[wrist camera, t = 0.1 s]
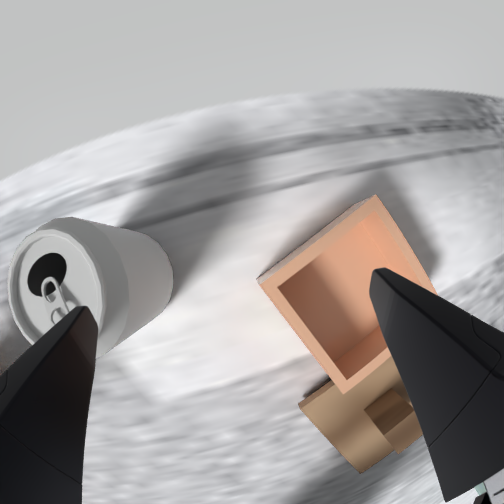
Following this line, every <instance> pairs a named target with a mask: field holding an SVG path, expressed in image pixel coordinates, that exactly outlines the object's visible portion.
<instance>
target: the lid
mask: <svg viewBox="0 0 504 504" xmlns="http://www.w3.org/2000/svg"><path fill="white" fill-rule="evenodd" d="M298 405H299V407H300V409H301V411H302V412H303V413H304V414H305V415H306V416H307V417H308V418H309V420H310V421H311V422H312V423H313V424H314V425H315V426H316V427H317V428H318V430H319V431H320V432H321V433H322V434H323V435H324V436H325V437H326V438H327V439H328V440H329V442H330V443H331V444H332V445H333V446H334V447H335V448H336V449H337V450H338V451H339V452H340V453H341V454H342V455H343V456H344V457H345V459H346V460H347V461H348V462H349V463H350V464H351V465H352V466H353V467H354V468H355V469H356V470H357V471H358V472H359V473H360V474H361V473H363V472H364V471H366V470H367V469H369V468H370V467H372V466H373V465H374V464H376V463H377V462H379V461H380V460H382V459H383V458H384V457H386V456H387V455H388V454H390V453H391V452H392V451H394V450H395V451H396V452H397V453H398V454H399V453H401V452H402V451H403V450H404V449H406V448H407V447H408V446H409V445H411V444H412V443H413V442H414V441H416V440H417V439H418V438H419V437H420V436H422V435H423V433H422V430H421V427H420V424H419V422H418V419H417V416H416V414H415V411H414V409H413V406H412V404H411V401H410V399H409V396H408V394H407V391H406V389H405V386H404V384H403V381H402V379H401V377H400V374H399V372H398V369H397V367H396V365H395V362H394V360H393V358H392V356H390V357H389V358H388V359H387V360H386V361H385V362H384V363H382V364H381V365H380V366H379V367H378V368H376V369H375V370H374V371H373V372H372V373H370V374H369V375H368V376H367V377H365V378H364V379H363V380H362V381H360V382H359V383H358V384H356V385H355V386H354V387H353V388H351V389H350V390H349V391H347V392H346V393H345V394H342V392H341V391H340V390H339V388H338V387H337V386H336V385H335V383H334V382H333V381H332V380H331V381H329V382H328V383H327V384H325V385H324V386H323V387H321V388H320V389H318V390H317V391H316V392H314V393H313V394H311V395H310V396H309V397H307V398H306V399H304V400H303V401H301V402H300V403H298Z"/></svg>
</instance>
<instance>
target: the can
mask: <svg viewBox="0 0 504 504" xmlns="http://www.w3.org/2000/svg"><path fill="white" fill-rule="evenodd" d="M7 288H8V299H9V305H10V308H11V311H12V314H13V317H14V320H15V322H16V324H17V326H18V327H19V329H20V331H21V333H22V334H23V336H24V337H25V338H26V339H27V340H28V341H29V342H30V343H31V344H32V345H33V344H34V343H35V342H36V341H37V340H39V339H40V338H41V337H42V336H43V335H44V334H45V333H46V332H47V331H48V330H50V329H51V328H52V327H53V326H54V325H55V324H56V323H57V322H59V321H60V320H61V319H62V318H63V317H64V316H65V315H66V314H68V313H69V312H70V311H71V310H72V309H73V308H75V307H76V306H84V305H85V306H88V307H89V309H90V311H91V313H92V315H93V316H94V318H95V320H96V322H97V324H98V340H97V351H96V359H97V358H100V357H102V356H103V355H104V354H106V353H107V352H109V351H110V350H111V349H113V348H114V347H116V346H117V345H118V344H120V343H121V342H122V341H124V340H125V339H127V338H128V337H129V336H131V335H132V334H134V333H135V332H136V331H138V330H139V329H141V328H142V327H143V326H145V325H146V324H148V323H149V322H150V321H152V320H153V319H154V318H156V317H157V316H158V315H159V314H161V313H162V312H163V310H164V308H165V307H166V305H167V304H168V302H169V300H170V297H171V293H172V289H173V269H172V266H171V264H170V261H169V258H168V255H167V254H166V253H165V251H164V250H163V248H162V247H161V246H160V244H159V243H158V242H156V241H155V240H153V239H152V238H151V237H149V236H148V235H146V234H143V233H139V232H136V231H132V230H128V229H123V228H119V227H114V226H110V225H105V224H101V223H97V222H92V221H88V220H83V219H79V218H74V217H67V218H57V219H53V220H51V221H50V222H48V223H46V224H44V225H42V226H41V227H39V228H38V229H37V230H36V231H35V232H33V233H31V234H30V235H28V236H26V238H25V239H24V240H23V241H22V243H21V244H20V245H19V246H18V247H17V249H16V251H15V253H14V256H13V258H12V261H11V263H10V266H9V273H8V281H7Z"/></svg>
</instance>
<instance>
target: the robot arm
mask: <svg viewBox="0 0 504 504" xmlns="http://www.w3.org/2000/svg"><path fill="white" fill-rule="evenodd" d="M369 296H370V299H371V302H372V305H373V308H374V311H375V314H376V317H377V320H378V323H379V326H380V329H381V332H382V335H383V337H384V340H385V342H386V344H387V347H388V349H389V351H390V353H391V356H392V358H393V360H394V362H395V365H396V367H397V369H398V372H399V374H400V377H401V379H402V381H403V384H404V386H405V389H406V391H407V394H408V396H409V399H410V401H411V404H412V406H413V409H414V411H415V414H416V416H417V419H418V422H419V424H420V427H421V430H422V433H423V435H424V438H425V441H426V444H427V447H429V448H428V450H429V453H430V456H431V459H432V462H433V465H434V468H435V471H436V474H437V477H438V480H439V484H440V487H441V490H442V494H443V497H444V500H445V502H448V501H450V500H452V499H454V498H456V497H458V496H460V495H462V494H463V493H465V492H467V491H469V490H470V489H472V488H474V487H476V486H477V485H479V484H481V483H482V482H483V484H484V486H485V489H486V492H484V493H482V494H481V495H479V496H478V497H476V498H475V501H474V503H473V504H504V332H502V331H500V330H498V329H496V328H494V327H492V326H490V325H488V324H487V323H485V322H483V321H481V320H480V319H478V318H476V317H475V316H473V315H470V314H469V313H468V312H466V311H464V310H462V309H461V308H459V307H457V306H455V305H454V304H452V303H450V302H448V301H447V300H445V299H443V298H441V297H439V296H438V295H436V294H434V293H432V292H430V291H429V290H427V289H425V288H423V287H421V286H420V285H418V284H416V283H414V282H412V281H410V280H408V279H407V278H405V277H403V276H401V275H399V274H397V273H395V272H393V271H392V270H390V269H388V268H386V267H383V268H377V269H374V270H373V271H372V275H371V281H370V287H369ZM97 340H98V324H97V322H96V320H95V318H94V316H93V315H92V313H91V311H90V309H89V307H88V306H85V305H84V306H76V307H75V308H73V309H72V310H71V311H70V312H69V313H68V314H66V315H65V316H64V317H63V318H62V319H61V320H60V321H59V322H57V323H56V324H55V325H54V326H53V327H52V328H51V329H50V330H48V331H47V332H46V333H45V334H44V335H43V336H42V337H41V338H40V339H39V340H37V341H36V342H35V343H34V344H33V345H32V346H31V347H30V348H29V349H28V350H27V351H26V352H25V353H24V354H23V355H21V356H20V357H19V358H18V359H17V360H16V361H15V362H14V363H13V364H12V365H11V366H10V367H9V368H8V370H6V371H5V372H4V373H3V374H2V375H1V376H0V504H82V476H83V460H84V447H85V437H86V427H87V419H88V411H89V404H90V397H91V391H92V384H93V379H94V372H95V363H96V351H97Z"/></svg>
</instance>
